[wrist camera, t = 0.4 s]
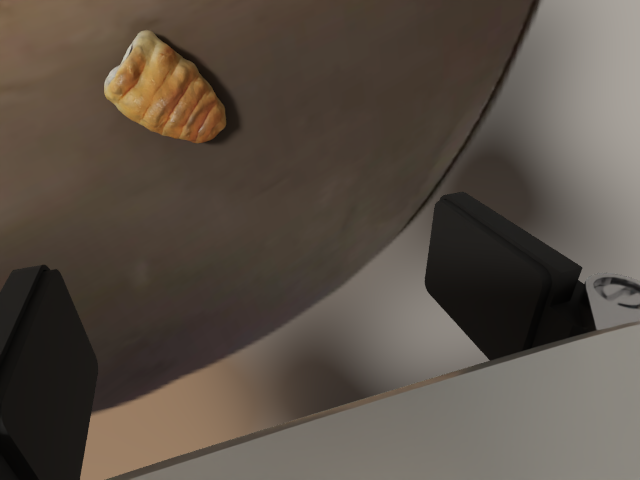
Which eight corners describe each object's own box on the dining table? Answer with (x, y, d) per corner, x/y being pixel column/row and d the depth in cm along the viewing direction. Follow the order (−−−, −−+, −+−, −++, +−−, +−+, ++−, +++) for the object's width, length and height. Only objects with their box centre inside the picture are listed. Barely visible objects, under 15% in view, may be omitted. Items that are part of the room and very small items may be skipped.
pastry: (239, 97, 37) (247, 106, 34) (198, 157, 38) (201, 171, 35) (140, 22, 32) (138, 24, 29) (97, 93, 33) (90, 103, 30)
